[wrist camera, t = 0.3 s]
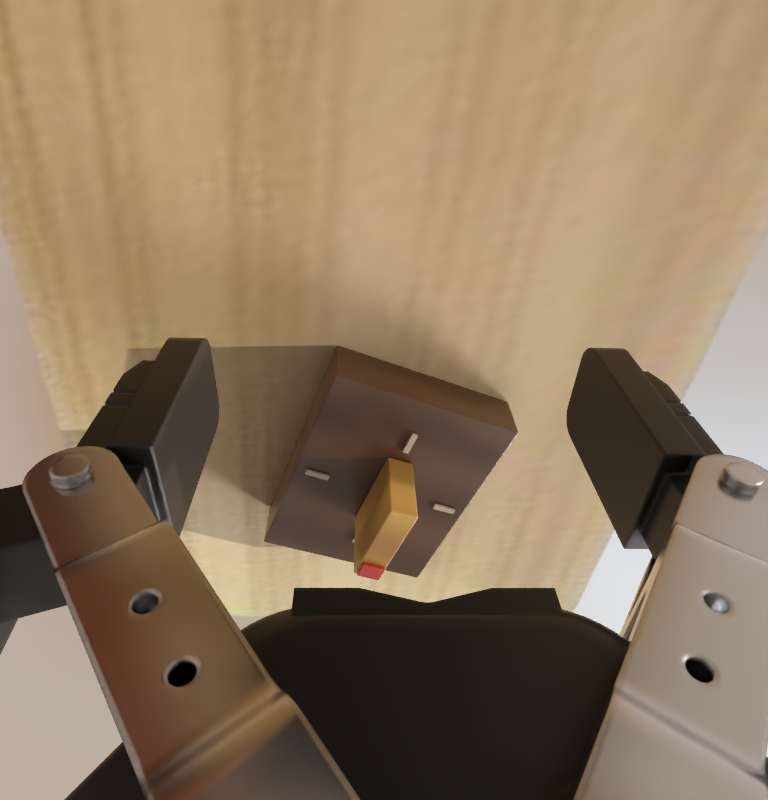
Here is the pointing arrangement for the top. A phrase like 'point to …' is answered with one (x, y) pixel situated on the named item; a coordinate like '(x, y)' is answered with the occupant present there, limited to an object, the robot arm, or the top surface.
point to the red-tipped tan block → (384, 518)
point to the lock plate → (386, 456)
